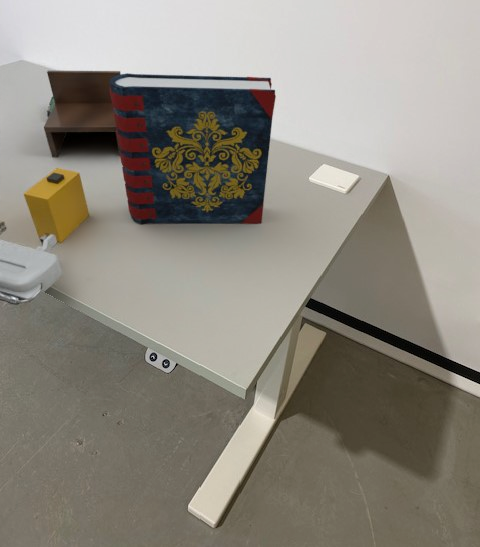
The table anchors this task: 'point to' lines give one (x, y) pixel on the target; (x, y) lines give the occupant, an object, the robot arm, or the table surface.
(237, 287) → the table surface
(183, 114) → the book
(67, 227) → the tape measure
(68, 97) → the shelf
